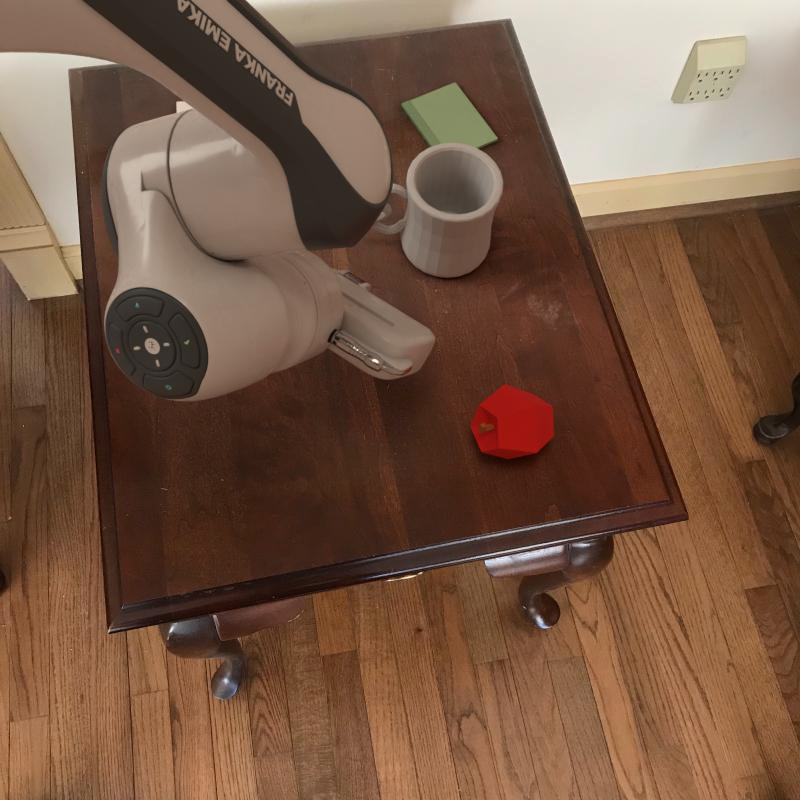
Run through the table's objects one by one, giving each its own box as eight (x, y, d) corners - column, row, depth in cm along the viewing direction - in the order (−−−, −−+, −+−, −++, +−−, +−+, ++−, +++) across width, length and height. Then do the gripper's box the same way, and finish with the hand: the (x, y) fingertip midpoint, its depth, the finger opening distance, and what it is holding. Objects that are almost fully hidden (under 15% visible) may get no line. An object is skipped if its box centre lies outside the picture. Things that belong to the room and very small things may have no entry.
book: (442, 164, 89) (443, 161, 89) (400, 106, 92) (401, 103, 91) (497, 141, 91) (498, 137, 90) (455, 84, 94) (455, 81, 93)
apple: (557, 367, 74) (485, 379, 70) (581, 440, 73) (508, 456, 69) (514, 391, 80) (445, 403, 76) (535, 459, 78) (466, 475, 74)
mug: (485, 206, 87) (501, 141, 78) (492, 281, 83) (508, 221, 74) (367, 205, 86) (368, 139, 77) (368, 281, 83) (369, 221, 74)
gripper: (415, 343, 60) (468, 314, 72) (191, 204, 63) (279, 199, 76) (378, 414, 62) (436, 374, 75) (164, 276, 66) (254, 260, 78)
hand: (355, 285), depth 75 cm, fingers closed
